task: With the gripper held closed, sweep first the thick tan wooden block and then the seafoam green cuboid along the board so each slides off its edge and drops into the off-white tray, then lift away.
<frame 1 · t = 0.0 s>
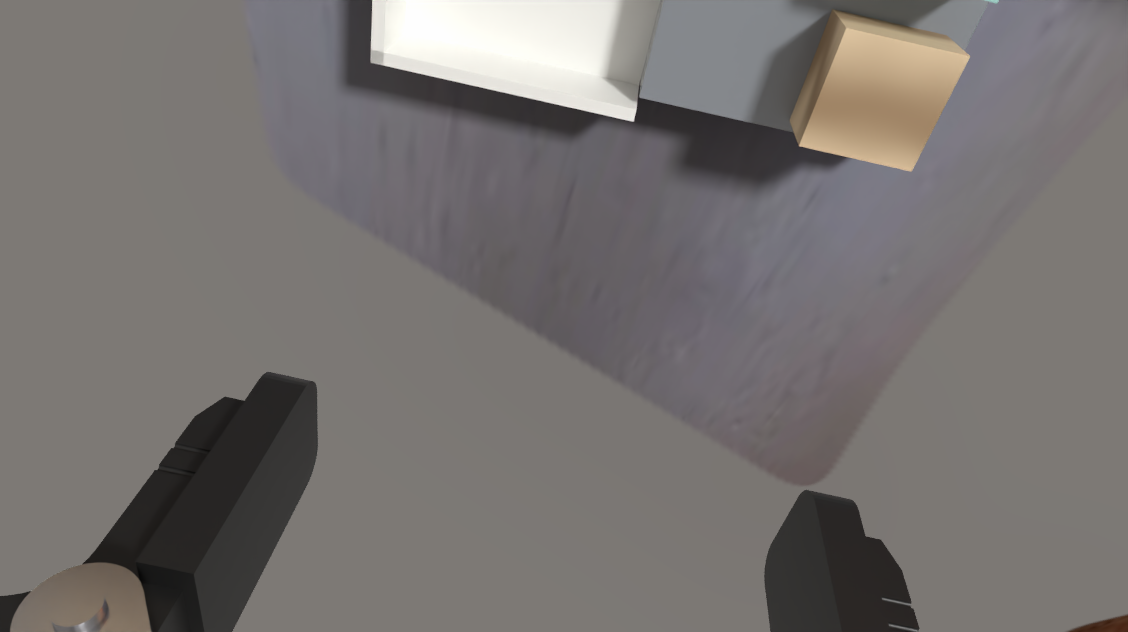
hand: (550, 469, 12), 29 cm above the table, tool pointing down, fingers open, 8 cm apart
thick tan wooden block: (864, 79, 33), point 3 cm above the table, touching board
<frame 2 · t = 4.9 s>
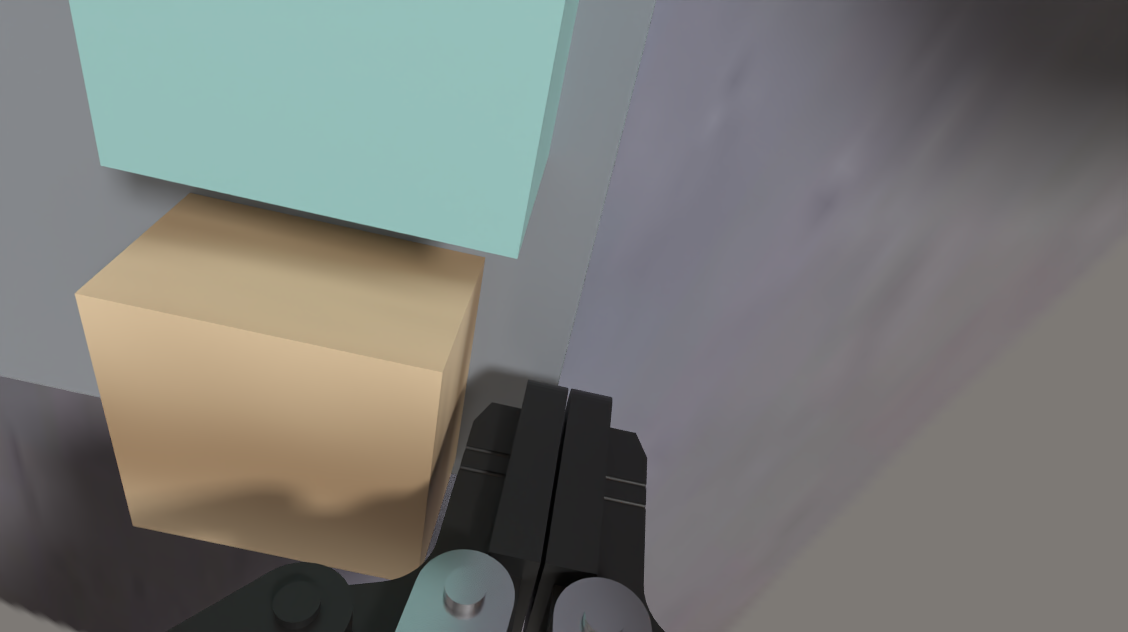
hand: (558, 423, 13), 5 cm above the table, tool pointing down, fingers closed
board: (286, 67, 15), on the table
thick tan wooden block: (337, 340, 14), point 4 cm above the table, touching gripper
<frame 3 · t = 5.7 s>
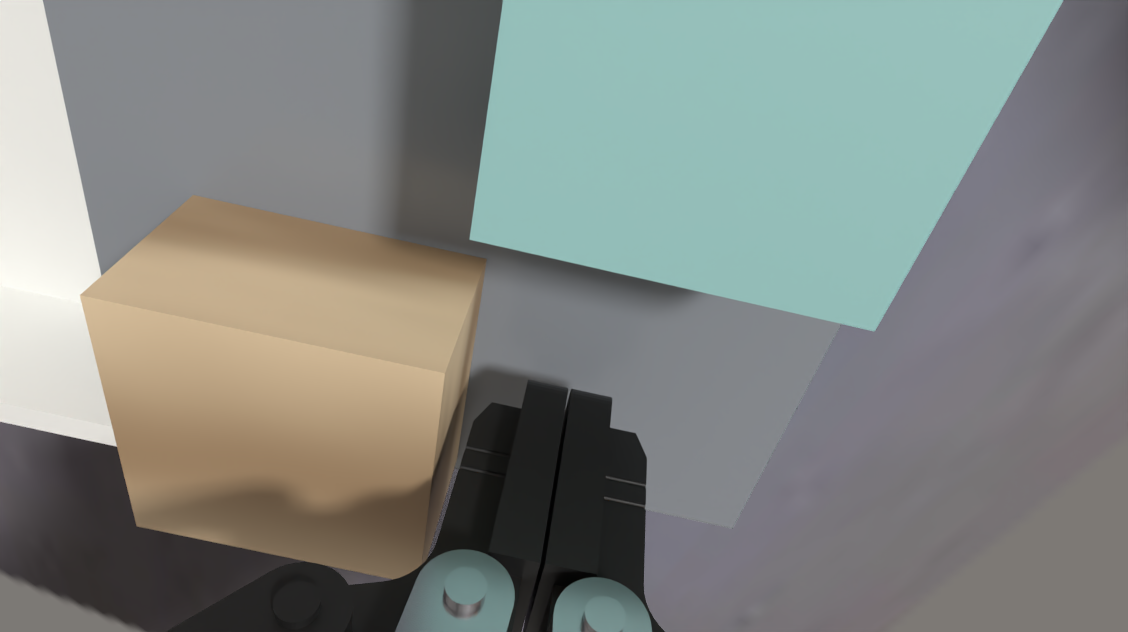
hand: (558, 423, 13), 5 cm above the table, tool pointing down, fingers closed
board: (507, 112, 15), on the table
seafoam green cuboid: (723, 9, 10), point 3 cm above the table, touching board
thick tan wooden block: (339, 341, 14), point 4 cm above the table, touching gripper
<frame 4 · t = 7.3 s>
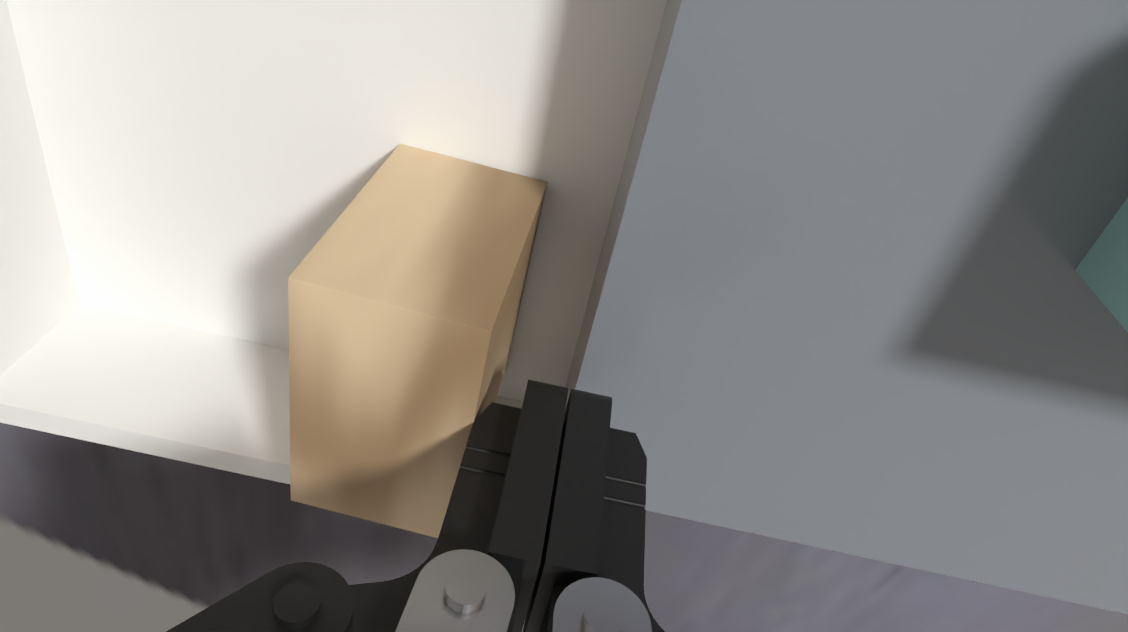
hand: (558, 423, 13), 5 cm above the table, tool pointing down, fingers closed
board: (943, 213, 15), on the table
tray: (317, 69, 15), on the table
thick tan wooden block: (500, 354, 14), point 3 cm above the table, tilted 92°, touching gripper, tray
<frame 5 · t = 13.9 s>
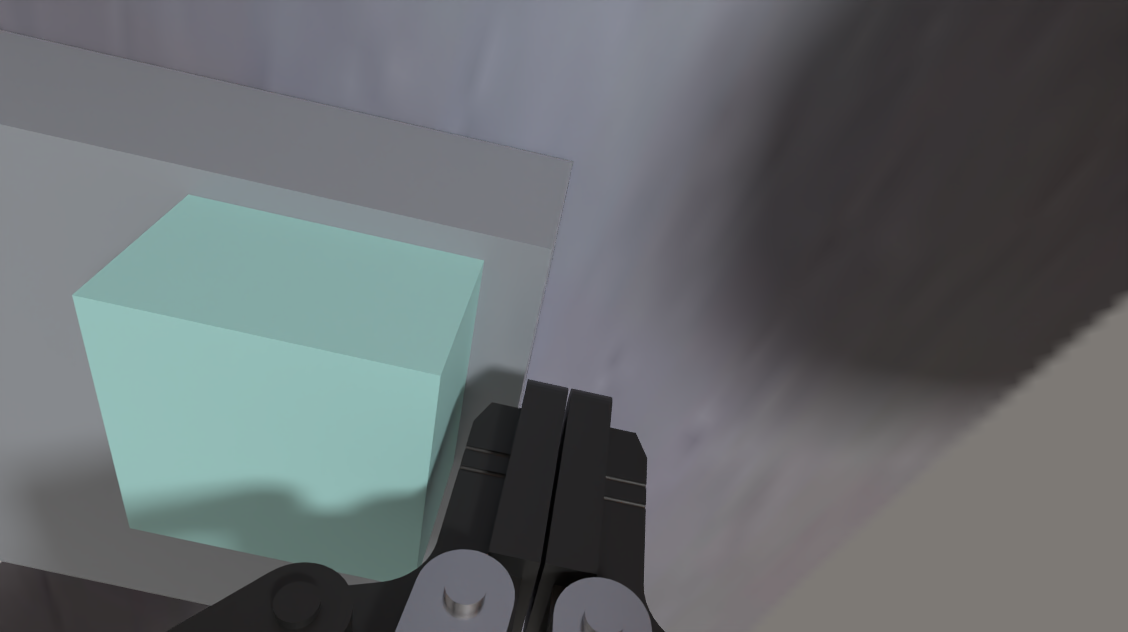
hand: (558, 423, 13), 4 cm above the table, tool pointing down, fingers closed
board: (268, 338, 19), on the table
seafoam green cuboid: (335, 342, 14), point 4 cm above the table, touching board, gripper
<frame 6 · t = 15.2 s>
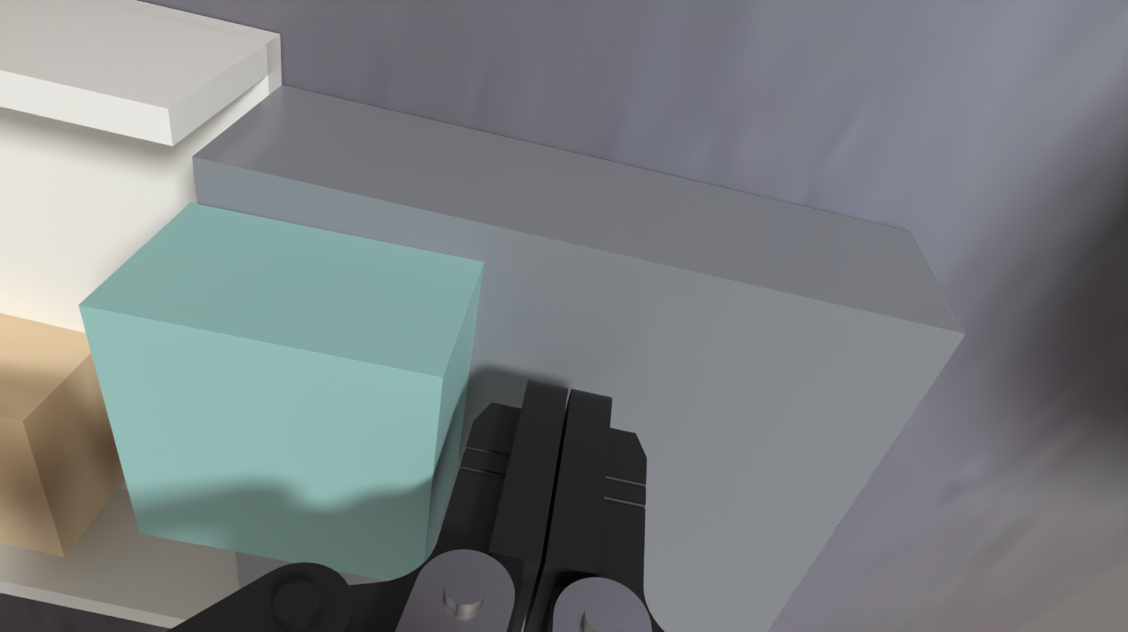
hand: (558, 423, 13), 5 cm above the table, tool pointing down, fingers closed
board: (542, 392, 19), on the table
seafoam green cuboid: (338, 346, 14), point 4 cm above the table, touching board, gripper
tray: (40, 280, 18), on the table
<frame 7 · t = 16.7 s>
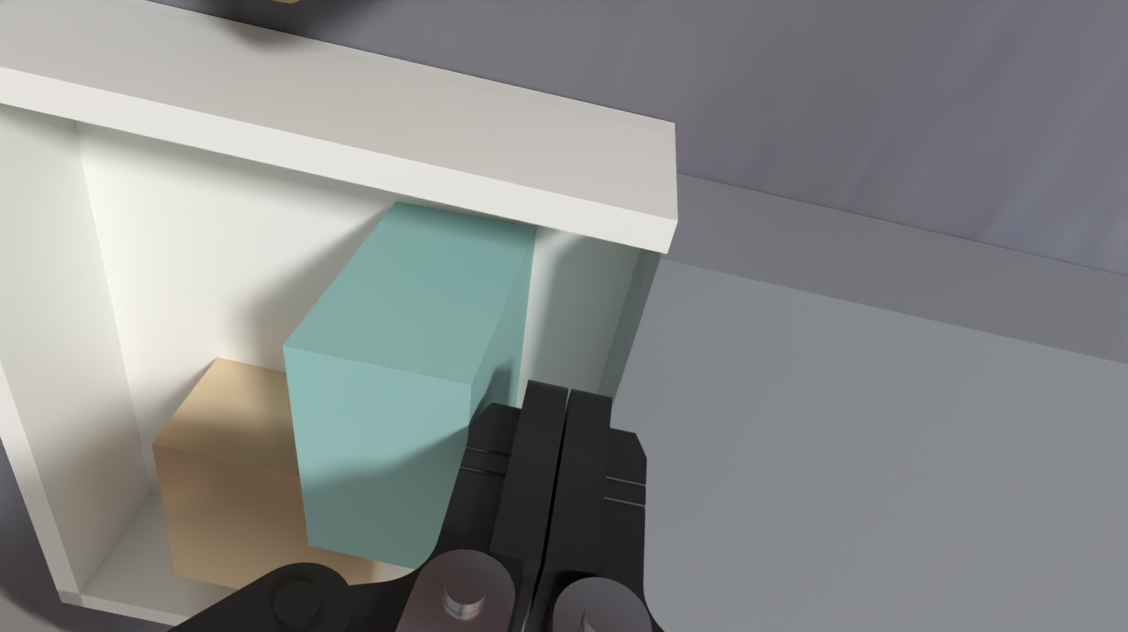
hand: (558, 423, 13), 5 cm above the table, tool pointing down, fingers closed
board: (838, 453, 19), on the table
seafoam green cuboid: (499, 397, 15), point 3 cm above the table, tilted 94°, touching gripper, tray
tray: (350, 346, 19), on the table
thick tan wooden block: (267, 537, 18), point 4 cm above the table, tilted 180°, touching tray
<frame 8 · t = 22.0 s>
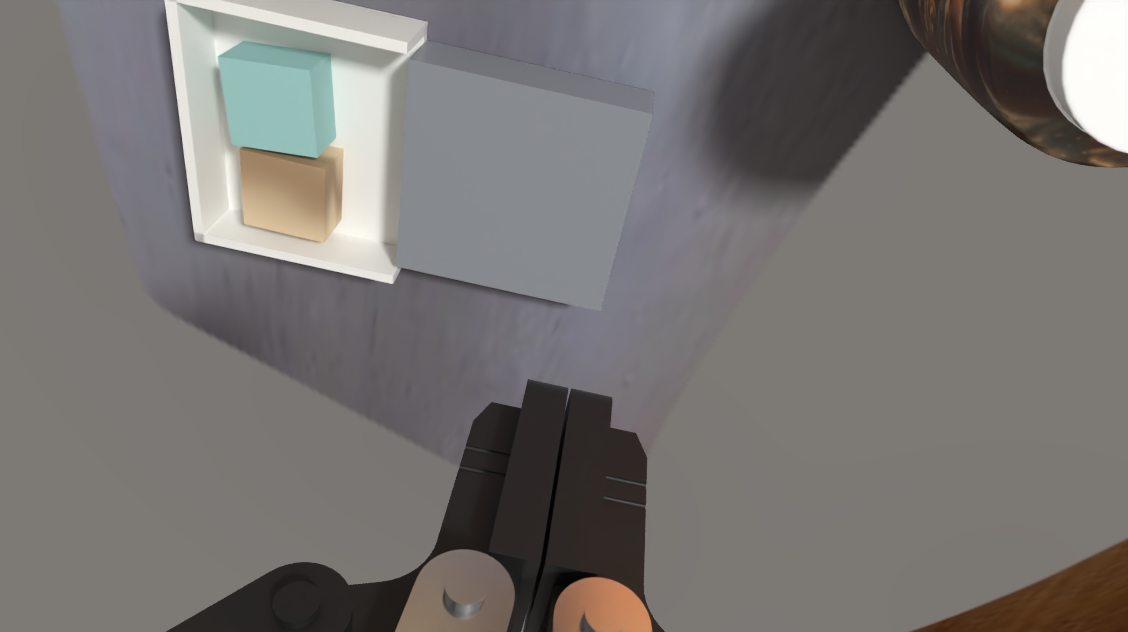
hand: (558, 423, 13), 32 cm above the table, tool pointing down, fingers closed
board: (523, 171, 45), on the table
seafoam green cuboid: (269, 109, 41), point 4 cm above the table, tilted 180°, touching tray
tray: (317, 125, 45), on the table
thick tan wooden block: (283, 197, 44), point 4 cm above the table, tilted 180°, touching tray
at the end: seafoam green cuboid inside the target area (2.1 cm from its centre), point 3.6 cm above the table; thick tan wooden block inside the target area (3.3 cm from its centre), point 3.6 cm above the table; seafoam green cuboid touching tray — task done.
